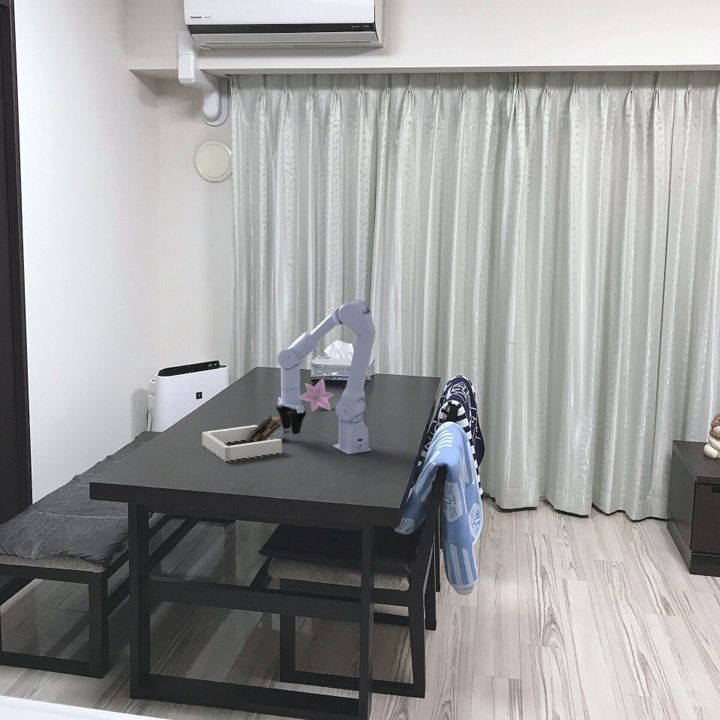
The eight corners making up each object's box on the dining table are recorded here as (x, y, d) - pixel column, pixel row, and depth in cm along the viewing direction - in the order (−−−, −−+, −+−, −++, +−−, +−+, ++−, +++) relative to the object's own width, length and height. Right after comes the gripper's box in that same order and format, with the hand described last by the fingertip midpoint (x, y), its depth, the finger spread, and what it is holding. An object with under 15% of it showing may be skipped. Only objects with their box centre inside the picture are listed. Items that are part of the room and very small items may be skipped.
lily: (293, 413, 297) (300, 393, 292) (299, 394, 307) (306, 373, 302) (326, 423, 298) (333, 403, 293) (331, 404, 308) (338, 384, 303)
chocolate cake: (262, 449, 253) (285, 417, 257) (244, 439, 256) (268, 408, 260) (272, 462, 261) (294, 431, 265) (254, 452, 264) (277, 422, 268)
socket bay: (281, 453, 247) (281, 439, 246) (225, 461, 239) (225, 448, 238) (256, 437, 263) (256, 425, 263) (202, 445, 255) (202, 432, 254)
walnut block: (281, 430, 272) (281, 418, 272) (272, 432, 269) (272, 420, 268) (272, 428, 275) (272, 416, 274) (263, 430, 272) (263, 418, 271)
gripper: (268, 384, 260) (269, 427, 263) (288, 393, 248) (289, 438, 250) (289, 382, 263) (290, 424, 266) (310, 391, 251) (310, 435, 254)
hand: (291, 430), depth 258 cm, fingers open, 6 cm apart
